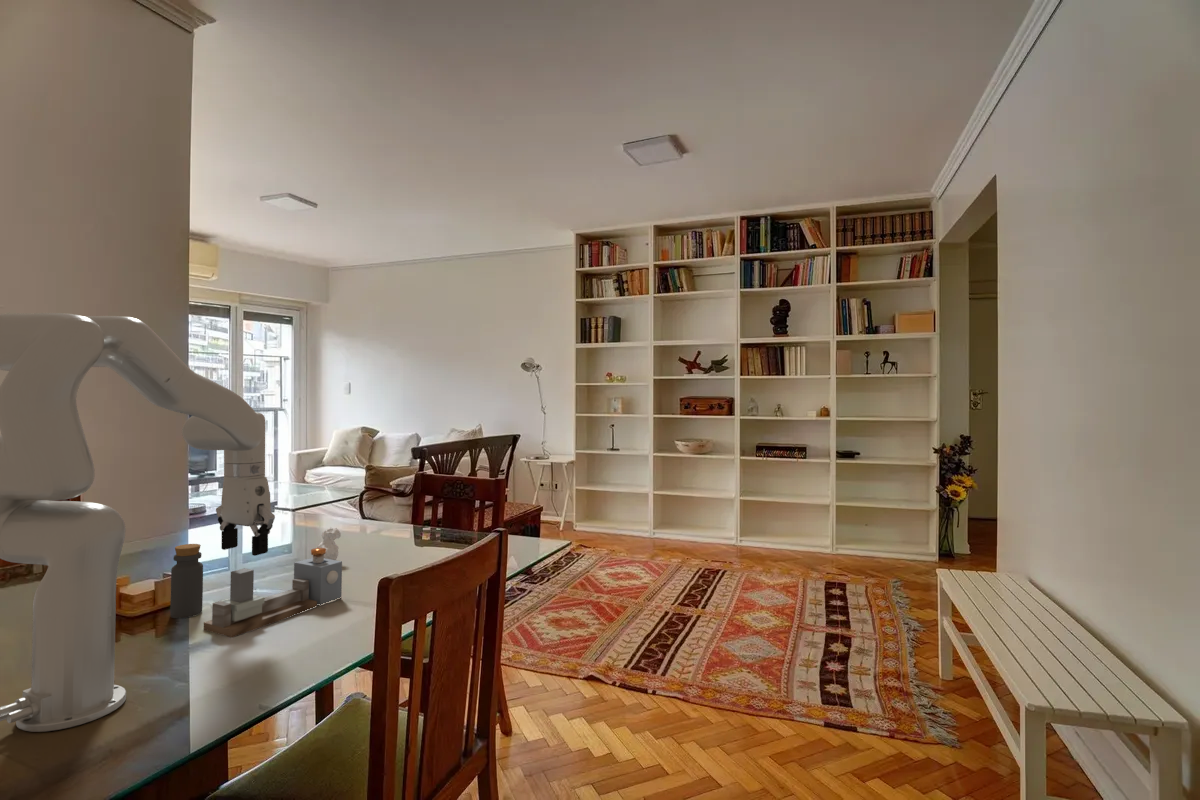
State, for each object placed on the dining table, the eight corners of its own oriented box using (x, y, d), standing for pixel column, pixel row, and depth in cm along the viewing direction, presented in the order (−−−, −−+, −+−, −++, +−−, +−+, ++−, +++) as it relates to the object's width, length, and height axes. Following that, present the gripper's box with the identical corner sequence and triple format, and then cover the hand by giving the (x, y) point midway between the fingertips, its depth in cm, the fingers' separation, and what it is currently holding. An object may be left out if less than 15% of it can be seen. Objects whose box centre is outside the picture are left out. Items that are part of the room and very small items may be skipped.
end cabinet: (321, 606, 140) (322, 567, 140) (293, 600, 144) (294, 562, 144) (342, 599, 145) (343, 561, 145) (314, 593, 149) (315, 556, 149)
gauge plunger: (317, 574, 142) (317, 551, 142) (307, 573, 144) (308, 550, 144) (328, 571, 145) (328, 548, 145) (318, 569, 147) (319, 547, 147)
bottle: (186, 619, 130) (187, 550, 130) (163, 617, 131) (164, 548, 131) (208, 610, 136) (210, 543, 136) (186, 608, 137) (188, 542, 137)
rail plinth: (231, 637, 121) (232, 607, 121) (203, 629, 125) (204, 601, 125) (316, 607, 139) (317, 581, 139) (289, 601, 143) (290, 576, 143)
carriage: (236, 622, 123) (237, 576, 123) (218, 617, 126) (219, 572, 126) (264, 613, 129) (265, 569, 129) (245, 608, 131) (246, 565, 131)
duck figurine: (328, 575, 172) (355, 542, 175) (305, 562, 169) (333, 527, 172) (324, 565, 182) (349, 533, 185) (302, 552, 179) (328, 520, 182)
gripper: (288, 471, 127) (288, 552, 128) (235, 465, 135) (235, 542, 135) (255, 475, 120) (255, 561, 121) (201, 469, 128) (200, 550, 128)
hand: (244, 551), depth 128 cm, fingers open, 9 cm apart
